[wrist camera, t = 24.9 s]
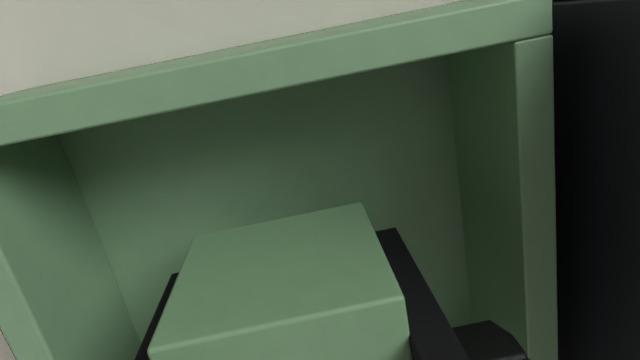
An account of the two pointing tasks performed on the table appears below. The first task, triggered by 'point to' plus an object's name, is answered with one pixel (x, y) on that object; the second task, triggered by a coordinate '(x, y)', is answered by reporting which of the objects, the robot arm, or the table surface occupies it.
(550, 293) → the green bin
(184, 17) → the table surface
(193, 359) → the green block
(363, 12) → the table surface
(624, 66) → the dark bin
